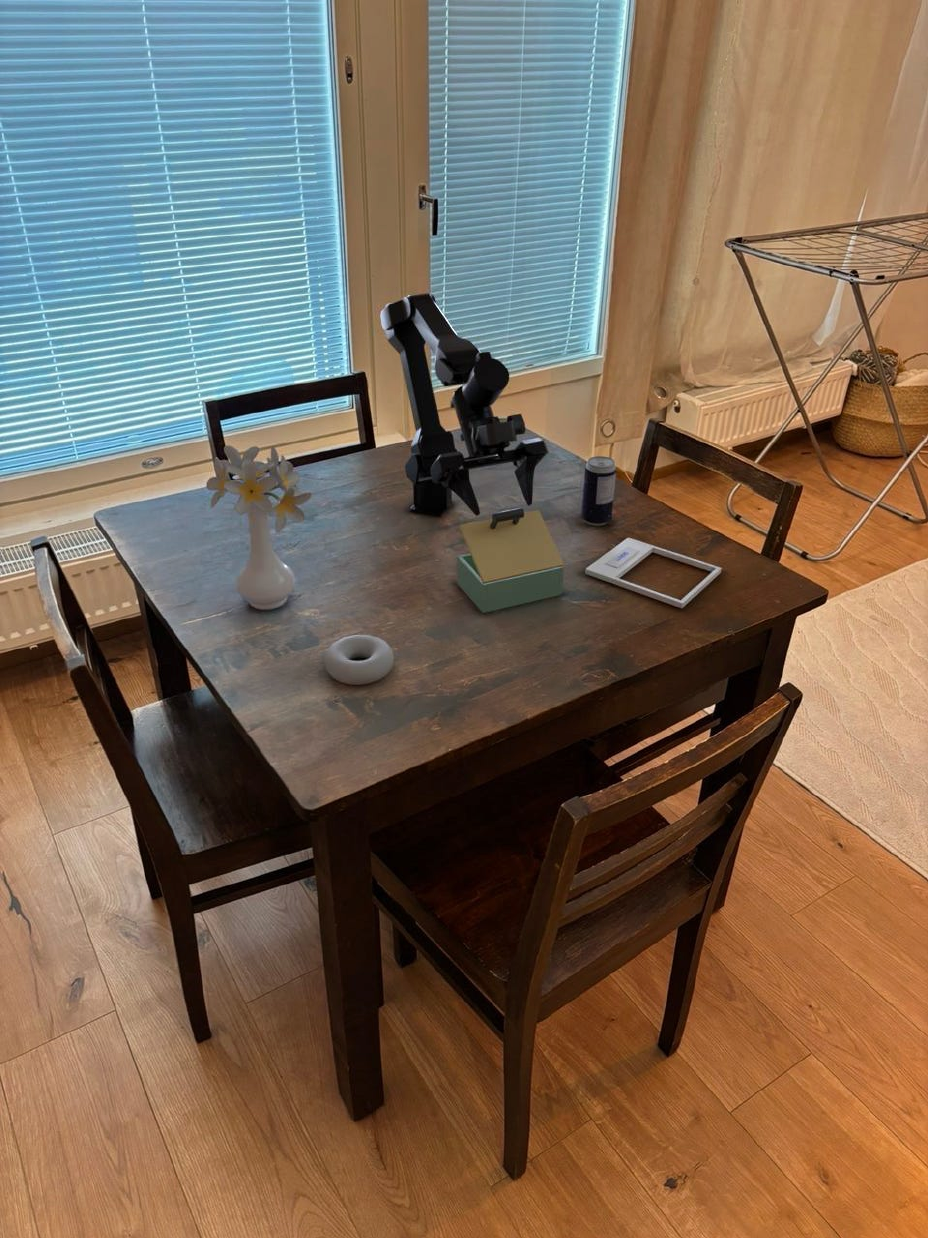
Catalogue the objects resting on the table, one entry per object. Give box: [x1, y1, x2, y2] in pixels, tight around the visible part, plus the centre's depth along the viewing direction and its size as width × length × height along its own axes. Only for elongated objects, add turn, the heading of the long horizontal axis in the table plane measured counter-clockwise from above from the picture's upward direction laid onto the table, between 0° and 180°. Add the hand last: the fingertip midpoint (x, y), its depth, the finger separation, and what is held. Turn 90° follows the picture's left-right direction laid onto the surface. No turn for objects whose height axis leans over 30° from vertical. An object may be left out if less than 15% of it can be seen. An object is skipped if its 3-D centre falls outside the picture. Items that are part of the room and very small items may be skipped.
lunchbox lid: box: [459, 507, 565, 584], centre depth 145 cm, size 11×14×4 cm
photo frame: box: [584, 537, 723, 609], centre depth 156 cm, size 15×1×18 cm
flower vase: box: [205, 445, 312, 611], centre depth 141 cm, size 13×18×25 cm
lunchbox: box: [456, 553, 564, 614], centre depth 150 cm, size 10×14×5 cm
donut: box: [323, 634, 395, 686], centre depth 132 cm, size 10×4×10 cm
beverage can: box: [580, 455, 617, 527], centre depth 170 cm, size 6×6×12 cm
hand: (504, 509), depth 146 cm, fingers open, 9 cm apart
